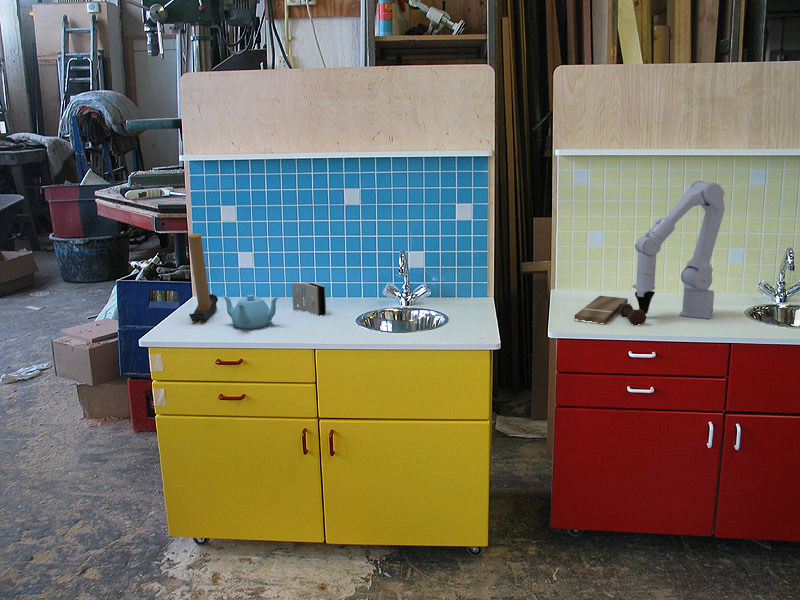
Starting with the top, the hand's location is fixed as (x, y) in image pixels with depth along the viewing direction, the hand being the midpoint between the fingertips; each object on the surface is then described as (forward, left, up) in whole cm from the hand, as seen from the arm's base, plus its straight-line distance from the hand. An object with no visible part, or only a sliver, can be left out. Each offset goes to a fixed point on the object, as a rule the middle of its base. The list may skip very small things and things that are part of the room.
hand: (643, 313), depth 249 cm
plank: (+14, -1, -2) cm, 14 cm away
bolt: (+4, +4, -2) cm, 6 cm away
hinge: (+105, +43, -2) cm, 113 cm away
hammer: (+135, +63, -2) cm, 149 cm away
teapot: (+112, +66, -2) cm, 130 cm away
